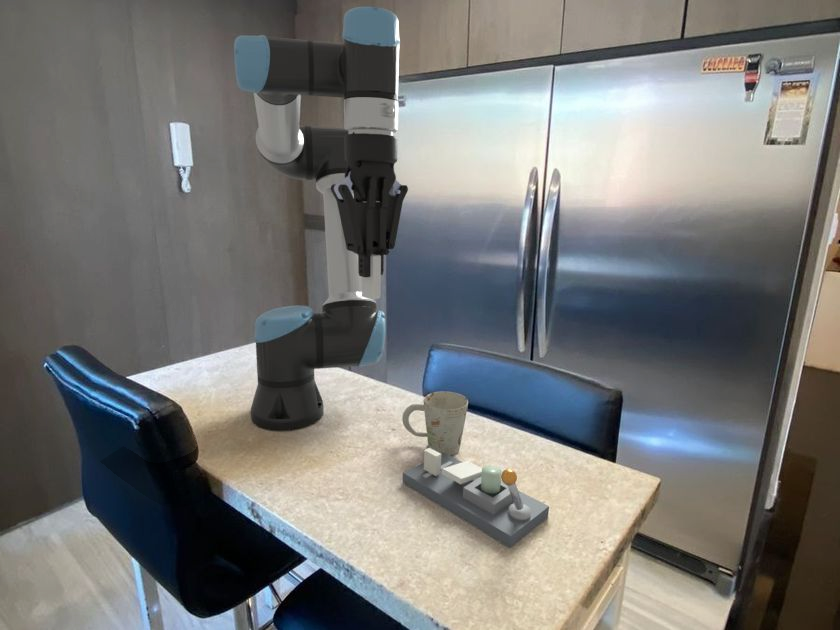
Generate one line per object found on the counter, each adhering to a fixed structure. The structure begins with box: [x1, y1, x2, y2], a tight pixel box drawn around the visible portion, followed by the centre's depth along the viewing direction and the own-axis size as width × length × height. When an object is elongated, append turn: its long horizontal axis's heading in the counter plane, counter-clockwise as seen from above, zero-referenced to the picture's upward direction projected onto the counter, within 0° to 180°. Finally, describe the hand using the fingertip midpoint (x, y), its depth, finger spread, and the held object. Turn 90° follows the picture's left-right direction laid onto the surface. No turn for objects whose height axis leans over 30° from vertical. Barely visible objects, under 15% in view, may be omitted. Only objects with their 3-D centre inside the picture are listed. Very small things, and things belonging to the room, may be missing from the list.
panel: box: [402, 452, 550, 549], centre depth 83 cm, size 22×10×4 cm, turn 45°
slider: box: [423, 447, 441, 476], centre depth 87 cm, size 3×1×4 cm, turn 45°
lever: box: [501, 468, 523, 510], centre depth 74 cm, size 2×2×8 cm
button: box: [481, 465, 503, 494], centre depth 80 cm, size 3×3×3 cm
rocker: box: [442, 460, 483, 484], centre depth 84 cm, size 4×6×1 cm, turn 135°
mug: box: [401, 390, 469, 456], centre depth 99 cm, size 8×13×10 cm, turn 78°
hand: (371, 297), depth 79 cm, fingers closed
